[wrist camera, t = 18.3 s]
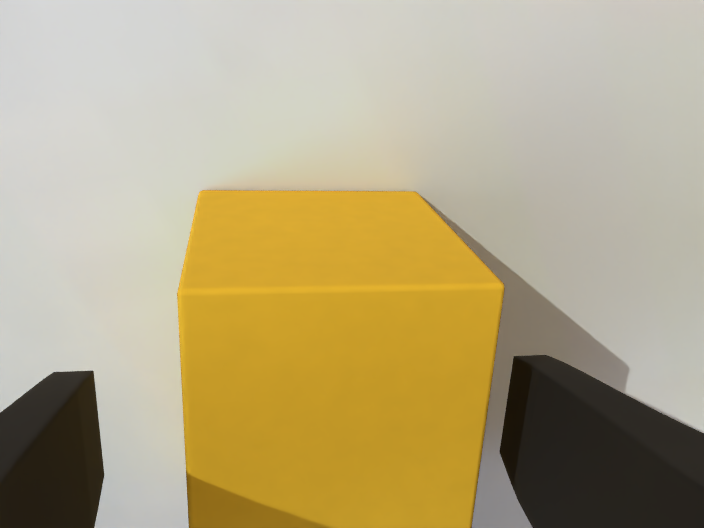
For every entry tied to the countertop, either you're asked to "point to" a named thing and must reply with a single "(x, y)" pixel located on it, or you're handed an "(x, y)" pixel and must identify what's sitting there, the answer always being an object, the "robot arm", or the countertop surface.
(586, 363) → the countertop surface
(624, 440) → the robot arm
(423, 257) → the sponge
